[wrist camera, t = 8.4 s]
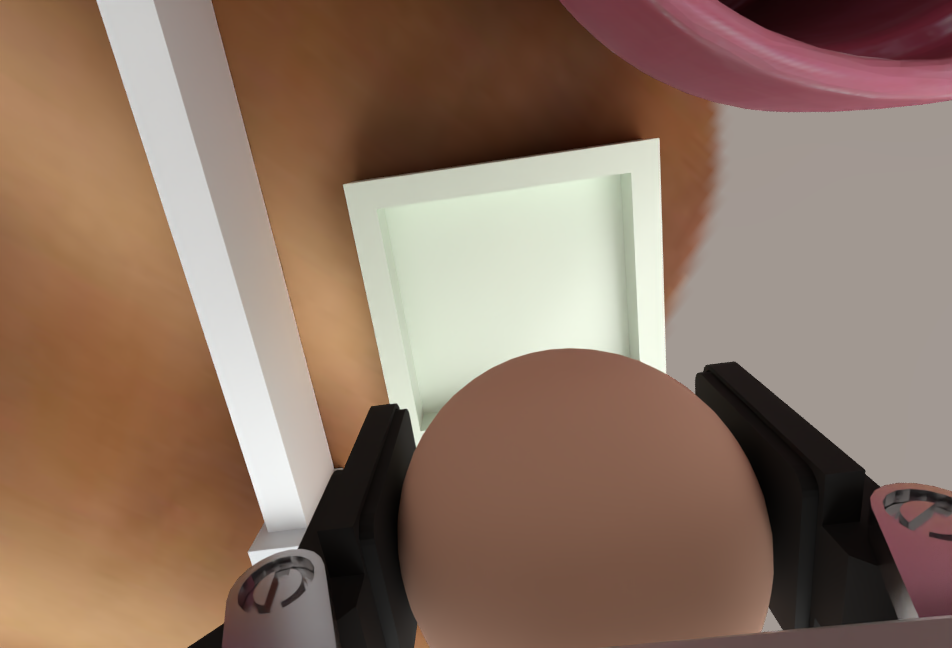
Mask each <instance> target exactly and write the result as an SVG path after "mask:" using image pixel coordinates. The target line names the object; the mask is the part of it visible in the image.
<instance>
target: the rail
mask: <svg viewBox="0 0 952 648" xmlns="http://www.w3.org/2000/svg"><path fill="white" fill-rule="evenodd" d="M96 1H97V4H98V7H99V10H100V13H101V16H102V19H103V22H104V25H105V28H106V32H107V35H108V38H109V41H110V44H111V47H112V50H113V53H114V56H115V59H116V62H117V66H118V69H119V72H120V75H121V78H122V81H123V84H124V87H125V90H126V93H127V97H128V100H129V103H130V106H131V109H132V112H133V115H134V118H135V121H136V124H137V128H138V131H139V134H140V137H141V140H142V143H143V146H144V149H145V152H146V155H147V158H148V162H149V165H150V168H151V171H152V174H153V177H154V180H155V183H156V186H157V189H158V193H159V196H160V199H161V202H162V205H163V208H164V211H165V214H166V217H167V220H168V224H169V227H170V230H171V233H172V236H173V239H174V242H175V245H176V248H177V251H178V254H179V258H180V261H181V264H182V267H183V270H184V273H185V276H186V279H187V282H188V285H189V289H190V292H191V295H192V298H193V301H194V304H195V307H196V310H197V313H198V316H199V320H200V323H201V326H202V329H203V332H204V335H205V338H206V341H207V344H208V347H209V350H210V354H211V357H212V360H213V363H214V366H215V369H216V372H217V375H218V378H219V381H220V385H221V388H222V391H223V394H224V397H225V400H226V403H227V406H228V409H229V412H230V416H231V419H232V422H233V425H234V428H235V431H236V434H237V437H238V440H239V443H240V446H241V450H242V453H243V456H244V459H245V462H246V465H247V468H248V471H249V474H250V477H251V481H252V484H253V487H254V490H255V493H256V496H257V499H258V502H259V505H260V508H261V512H262V515H263V518H264V521H265V523H264V524H263V526H262V528H261V530H260V531H259V533H258V535H257V537H256V538H255V540H254V542H253V544H252V546H251V547H250V549H249V551H248V554H249V557H250V560H251V563H252V566H253V565H254V564H256V563H257V562H259V561H261V560H262V559H264V558H266V557H269V556H271V555H273V554H275V553H279V552H283V551H286V550H291V549H298V547H299V545H300V542H301V540H302V538H303V536H304V534H305V532H306V530H307V527H308V525H309V523H310V521H311V519H312V517H313V514H314V512H315V510H316V508H317V506H318V504H319V501H320V499H321V497H322V495H323V493H324V491H325V488H326V486H327V484H328V482H329V480H330V478H331V475H332V474H333V472H334V471H336V470H340V469H343V468H336V469H334V466H333V462H332V458H331V454H330V451H329V447H328V443H327V439H326V435H325V432H324V428H323V424H322V420H321V416H320V413H319V409H318V405H317V401H316V397H315V393H314V390H313V386H312V382H311V378H310V374H309V371H308V367H307V363H306V359H305V355H304V352H303V348H302V344H301V340H300V336H299V333H298V329H297V325H296V321H295V317H294V313H293V310H292V306H291V302H290V298H289V294H288V291H287V287H286V283H285V279H284V275H283V272H282V268H281V264H280V260H279V256H278V253H277V249H276V245H275V241H274V237H273V233H272V230H271V226H270V222H269V218H268V214H267V211H266V207H265V203H264V199H263V195H262V192H261V188H260V184H259V180H258V176H257V173H256V169H255V165H254V161H253V157H252V153H251V150H250V146H249V142H248V138H247V134H246V131H245V127H244V123H243V119H242V115H241V112H240V108H239V104H238V100H237V96H236V93H235V89H234V85H233V81H232V77H231V74H230V70H229V66H228V62H227V58H226V54H225V51H224V47H223V43H222V39H221V35H220V32H219V28H218V24H217V20H216V16H215V13H214V9H213V5H212V1H211V0H96Z"/></svg>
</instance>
